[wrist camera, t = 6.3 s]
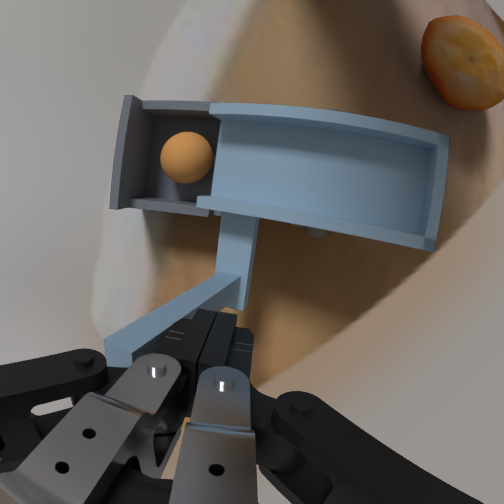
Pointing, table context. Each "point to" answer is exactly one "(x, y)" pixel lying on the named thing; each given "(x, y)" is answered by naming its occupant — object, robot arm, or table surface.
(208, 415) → the robot arm
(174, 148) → the ball
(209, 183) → the tray
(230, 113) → the lever
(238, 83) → the table surface
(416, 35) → the table surface
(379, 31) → the table surface
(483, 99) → the fruit
